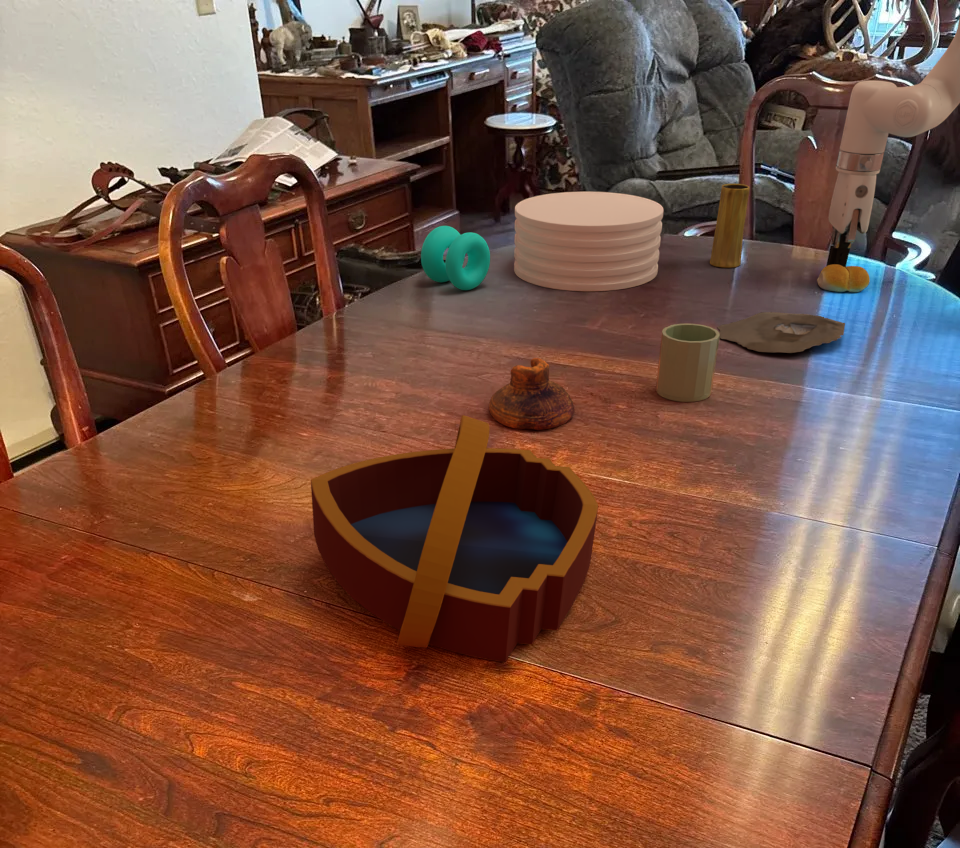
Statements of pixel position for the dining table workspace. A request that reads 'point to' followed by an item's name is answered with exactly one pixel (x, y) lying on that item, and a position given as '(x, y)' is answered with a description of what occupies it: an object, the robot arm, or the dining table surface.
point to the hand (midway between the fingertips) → (835, 268)
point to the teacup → (687, 362)
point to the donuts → (455, 257)
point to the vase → (730, 226)
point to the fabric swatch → (782, 331)
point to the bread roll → (843, 278)
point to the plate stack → (587, 240)
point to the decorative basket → (458, 542)
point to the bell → (531, 399)
